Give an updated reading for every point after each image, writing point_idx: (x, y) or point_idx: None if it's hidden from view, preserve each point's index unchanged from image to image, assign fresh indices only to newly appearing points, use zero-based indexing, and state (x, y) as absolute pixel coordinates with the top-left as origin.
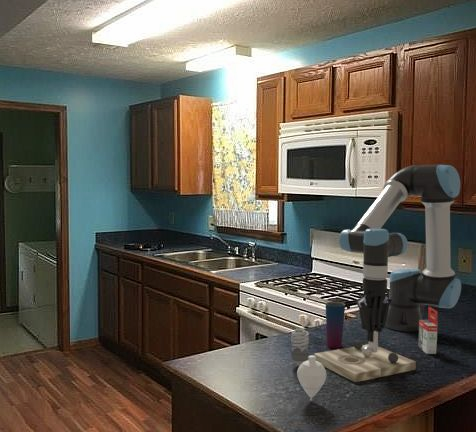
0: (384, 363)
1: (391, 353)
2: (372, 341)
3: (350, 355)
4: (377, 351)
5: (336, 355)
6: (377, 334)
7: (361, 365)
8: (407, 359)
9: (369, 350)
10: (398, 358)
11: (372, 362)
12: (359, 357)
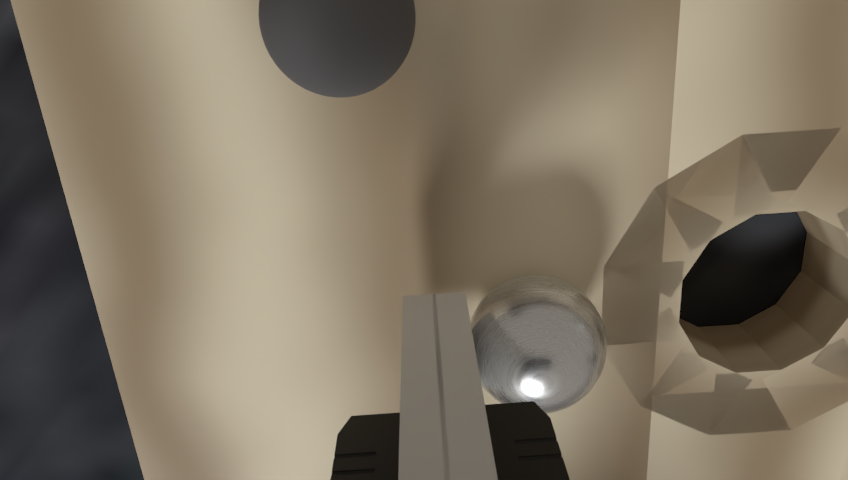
0: (485, 28)
1: (365, 29)
2: (496, 406)
3: (663, 414)
4: (406, 299)
5: (802, 461)
6: (415, 471)
7: (826, 81)
8: (60, 39)
9: (552, 313)
10: (165, 124)
11: (608, 123)
12: (621, 327)
